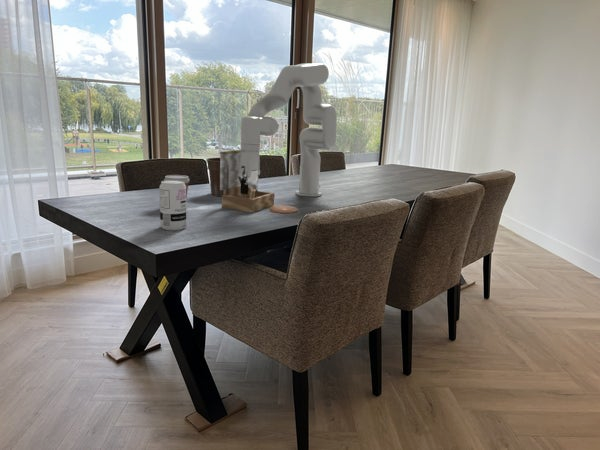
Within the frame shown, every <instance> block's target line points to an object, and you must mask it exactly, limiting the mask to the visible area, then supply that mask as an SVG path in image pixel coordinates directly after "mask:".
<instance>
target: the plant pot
mask: <svg viewBox="0 0 600 450" xmlns="http://www.w3.org/2000/svg"><path fill="white" fill-rule="evenodd" d="M206 162H207V163H206V164H207V169H208V172H209V181H210V182H209V183H210V185H209V186H210V194H211V195H212V196H216V197H222V195H223V192H224V190H225V189H224V190H220V157H208V158H206ZM237 187H238V186H237ZM233 188H234V187H233Z"/></svg>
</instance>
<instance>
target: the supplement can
mask: <svg viewBox="0 0 600 450" xmlns="http://www.w3.org/2000/svg"><path fill="white" fill-rule="evenodd" d="M160 182H161V183H160V185H159V217H160V218H159V220H160V221H159V222H160V227H161V229H163V230H166V231H181V230H184V229H185V227H187V225H188V224H187V199H186V185H185V183H184V182H183V181H178V180H166V181H164V180H162V181H160Z"/></svg>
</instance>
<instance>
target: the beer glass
mask: <svg viewBox="0 0 600 450" xmlns="http://www.w3.org/2000/svg"><path fill="white" fill-rule="evenodd" d="M243 176H246V174H245V172H244V174H243ZM244 179H245V180H246V178H244ZM258 182H259V178H258V170H256V171H251V176H250V177H249V178H248V183H247V184H248V194H242V198H249V199H253V198H255V196H256V191H258V186H259V185H258V184H259V183H258Z"/></svg>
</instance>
